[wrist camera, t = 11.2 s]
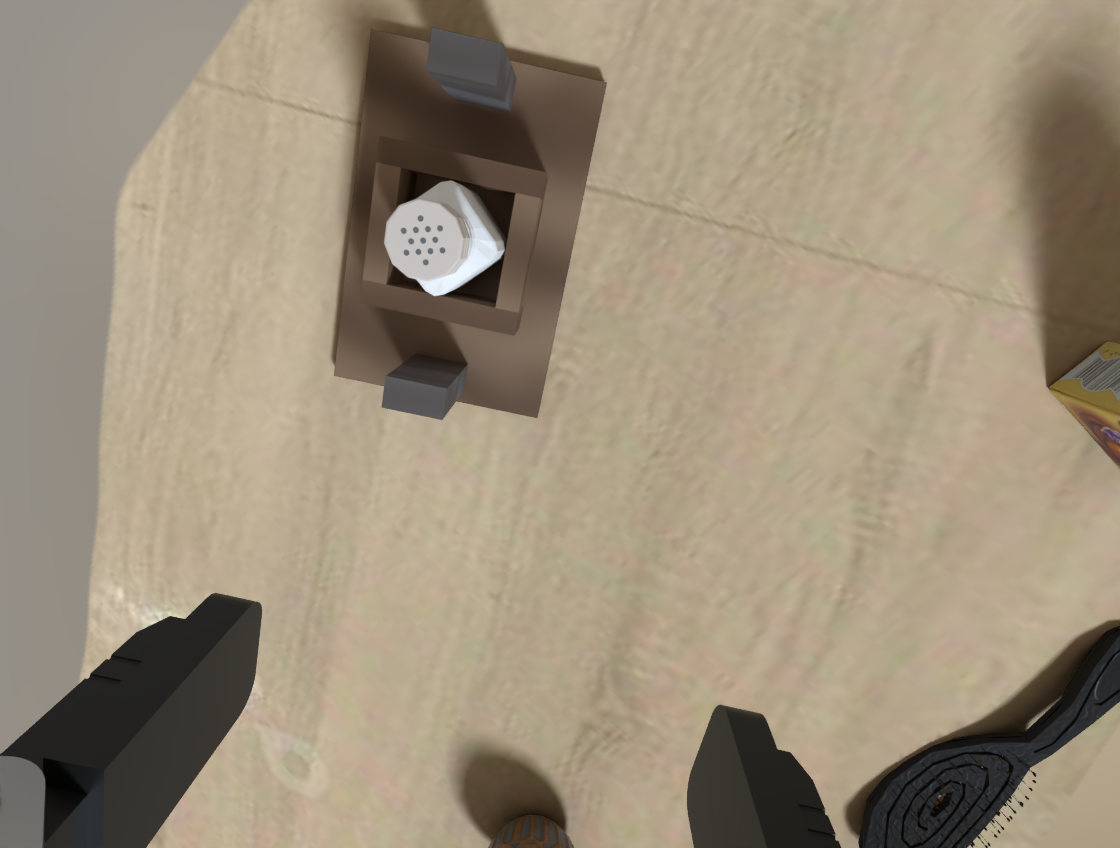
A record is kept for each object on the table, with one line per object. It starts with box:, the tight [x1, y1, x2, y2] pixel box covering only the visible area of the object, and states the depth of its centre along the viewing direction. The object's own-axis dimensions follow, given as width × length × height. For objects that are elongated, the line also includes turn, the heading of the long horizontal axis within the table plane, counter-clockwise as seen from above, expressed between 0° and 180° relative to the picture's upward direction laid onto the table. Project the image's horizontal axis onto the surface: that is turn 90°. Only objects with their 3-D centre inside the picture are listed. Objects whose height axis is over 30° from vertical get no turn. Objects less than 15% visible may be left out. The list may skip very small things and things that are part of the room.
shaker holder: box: [334, 28, 607, 420], centre depth 32 cm, size 18×12×7 cm, turn 168°
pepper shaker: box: [384, 180, 507, 296], centre depth 30 cm, size 4×4×10 cm
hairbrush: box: [858, 626, 1120, 848], centre depth 43 cm, size 8×4×25 cm
